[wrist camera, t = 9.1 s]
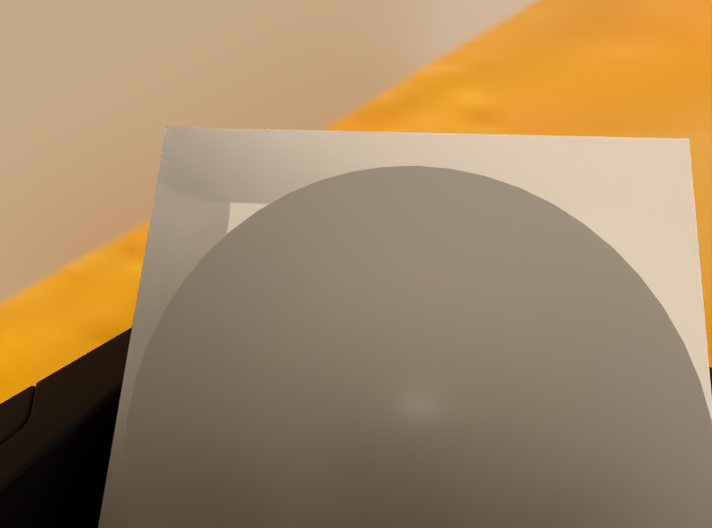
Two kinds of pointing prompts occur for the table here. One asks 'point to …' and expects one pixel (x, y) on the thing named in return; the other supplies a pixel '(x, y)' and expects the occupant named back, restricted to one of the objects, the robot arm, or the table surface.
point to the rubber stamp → (416, 335)
